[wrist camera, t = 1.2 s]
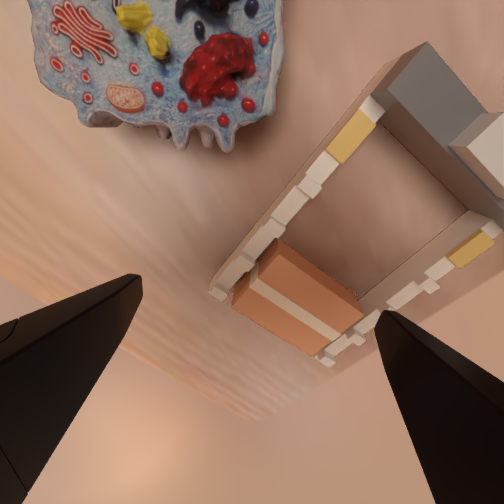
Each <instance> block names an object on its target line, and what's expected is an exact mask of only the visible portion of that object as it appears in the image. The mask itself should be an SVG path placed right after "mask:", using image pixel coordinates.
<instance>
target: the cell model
mask: <svg viewBox="0 0 504 504" xmlns="http://www.w3.org/2000/svg"><path fill="white" fill-rule="evenodd" d="M27 1H28V3H29V6H30V10H31V13H32V25H31V32H32V37H33V42H34V47H35V51H34V62H35V66H36V70H37V73H38V76H39V79H40V82H41V83H42V84H43V85H44V86H45V87H46V88H48V89H49V90H50V91H51V92H53V93H55V94H56V95H58V96H60V97H62V98H65V99H68V100H70V101H72V102H73V103H74V105H75V106H76V108H77V113H78V118H79V120H80V122H81V124H83V125H85V126H87V127H117V126H119V125H120V124H121V123H123V122H126V123H129V124H131V125H133V126H134V127H137V128H139V126H149V125H154V126H155V127H156V130H157V133H158V136H159V137H160V138H163V139H169V138H170V135H171V133H172V139H173V142H174V145H175V147H176V148H177V149H178V150H185V149H186V148H187V146H188V144H189V139H190V134H191V132H192V131H193V130H194V129H195V128H196V129H197V131H198V136H199V137H200V139H201V142H202V145H203V146H204V147H206V148H213V143H214V137H215V138H216V141H217V144H218V146H219V147H220V148H221V150H222V151H223V152H227V153H230V152H231V151H232V150H233V149H234V143H235V133H236V132H237V131H238V129H239V128H241V127H244V126H246V125H248V124H250V123H255V122H258V121H259V120H261V119H262V118H263V117H265V116H275V114H276V100H275V99H276V89H277V82H278V77H279V75H280V73H281V69H282V66H283V62H284V60H285V43H284V31H283V4H284V1H285V0H27Z"/></svg>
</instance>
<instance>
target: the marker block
mask: <svg viewBox="0 0 504 504" xmlns="http://www.w3.org/2000/svg"><path fill="white" fill-rule="evenodd" d="M231 307H232V308H233V309H235V310H236V311H238V312H240V313H241V314H243V315H245V316H246V317H248V318H249V319H251V320H253V321H254V322H256V323H258V324H259V325H261V326H262V327H264V328H266V329H267V330H269V331H271V332H272V333H274V334H275V335H277V336H279V337H280V338H282V339H284V340H285V341H287V342H288V343H290V344H292V345H293V346H295V347H297V348H298V349H300V350H301V351H303V352H305V353H306V354H308V355H310V356H313V355H314V354H315V353H317V352H318V351H319V350H320V349H322V348H323V347H324V346H326V345H327V344H328V343H329V342H331V341H332V342H333V341H334V340H335V339H337V338H338V337H339V336H340V335H342V334H341V333H342V332H344V331H345V330H346V329H347V328H349V327H350V326H351V325H353V324H354V323H355V322H356V321H358V320H359V319H360V318H362V317H363V316H364V313H363V311H362V310H361V308H360V306H359V304H358V302H357V300H356V298H355V296H354V294H353V293H352V292H350V291H349V290H348V289H346V288H345V287H344V286H342V285H341V284H339V283H338V282H337V281H335V280H334V279H333V278H331V277H330V276H329V275H327V274H326V273H324V272H323V271H322V270H320V269H319V268H318V267H316V266H315V265H313V264H312V263H311V262H309V261H308V260H307V259H305V258H304V257H303V256H301V255H300V254H298V253H297V252H296V251H294V250H293V249H292V248H290V247H289V246H288V245H286V244H285V243H283V242H282V241H281V240H279V239H277V240H276V241H275V242H274V243H273V244H272V246H271V247H270V248H269V249H268V250H267V251H266V252H265V253H264V255H263V256H262V257H261V258H260V259H259V260H258V261H257V262H256V263H255V265H254V266H253V267H252V269H251V270H250V271H249V272H248V273H247V274H246V275H245V276H244V277H243V278H242V280H241V281H240V282H239V283H238V284H237V285H236V286H235V290H234V295H233V300H232V305H231Z"/></svg>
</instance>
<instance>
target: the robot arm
mask: <svg viewBox="0 0 504 504" xmlns="http://www.w3.org/2000/svg"><path fill="white" fill-rule="evenodd" d="M142 297H143V289H142V278H141V276H140V275H137V274H126V275H124V276H121V277H119V278H116V279H114V280H111V281H109V282H106V283H104V284H101V285H99V286H96V287H94V288H91V289H89V290H86V291H84V292H81V293H79V294H76V295H74V296H71V297H69V298H66V299H64V300H61V301H59V302H56V303H54V304H51V305H49V306H46V307H44V308H42V309H39V310H37V311H34V312H32V313H29V314H27V315H24V316H22V317H20V318H19V319H14V320H12V321H9V322H7V323H4V324H2V325H0V504H22V502H23V501H24V499H25V498H26V496H27V495H28V493H27V492H29V491H30V489H31V488H32V486H33V484H34V483H35V481H36V479H37V478H38V476H39V475H40V473H41V471H42V470H43V468H44V467H45V465H46V463H47V462H48V460H49V458H50V457H51V455H52V453H53V452H54V450H55V448H56V447H57V445H58V444H59V442H60V440H61V439H62V437H63V435H64V434H65V432H66V431H67V429H68V427H69V426H70V424H71V422H72V421H73V419H74V417H75V416H76V414H77V413H78V411H79V409H80V408H81V406H82V404H83V403H84V401H85V400H86V398H87V396H88V395H89V393H90V392H91V390H92V388H93V387H94V385H95V383H96V382H97V380H98V379H99V377H100V375H101V374H102V372H103V370H104V369H105V367H106V365H107V364H108V362H109V361H110V359H111V357H112V356H113V354H114V352H115V351H116V349H117V348H118V346H119V344H120V343H121V341H122V339H123V338H124V336H125V334H126V332H127V330H128V328H129V326H130V324H131V321H132V319H133V317H134V315H135V313H136V311H137V309H138V306H139V304H140V302H141V300H142ZM374 331H375V336H376V339H377V343H378V347H379V351H380V354H381V358H382V362H383V365H384V369H385V372H386V374H387V377H388V380H389V383H390V385H391V388H392V390H393V393H394V396H395V398H396V401H397V404H398V406H399V409H400V411H401V414H402V417H403V419H404V422H405V425H406V427H407V430H408V432H409V435H410V437H411V440H412V443H413V445H414V448H415V451H416V453H417V456H418V458H419V461H420V463H421V466H422V469H423V472H424V474H425V477H426V479H427V482H428V484H429V487H430V490H431V492H432V495H433V498H434V500H435V503H436V504H504V382H502V381H501V380H499V379H498V378H496V377H495V376H493V375H492V374H490V373H489V372H487V371H486V370H484V369H483V368H481V367H480V366H478V365H477V364H475V363H474V362H472V361H470V360H469V359H467V358H466V357H464V356H463V355H461V354H460V353H458V352H457V351H455V350H454V349H452V348H451V347H449V346H448V345H446V344H445V343H443V342H442V341H440V340H439V339H437V338H436V337H434V336H433V335H431V334H430V333H428V332H426V331H425V330H423V329H422V328H421V327H419V326H418V325H416V324H415V323H413V322H411V321H410V320H408V319H407V318H405V317H404V316H402V315H401V314H399V313H398V312H396V311H392V310H383V311H382V312H381V314H380V316H379V319H378V321H377V323H376V325H375V329H374Z"/></svg>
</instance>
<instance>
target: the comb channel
mask: <svg viewBox="0 0 504 504" xmlns="http://www.w3.org/2000/svg"><path fill="white" fill-rule="evenodd" d="M377 120H378V121H379V122H380V123H381V124H382V125H383V126H384V127H385V128H386V129H387V130H388V131H389V132H390V133H391V134H392V135H393V136H394V137H395V138H396V139H398V140H399V141H400V142H401V143H402V144H403V145H404V146H405V147H406V148H407V149H408V150H409V151H410V152H411V153H412V154H413V155H414V156H415V157H416V158H417V159H418V160H419V161H420V162H421V163H422V164H423V165H424V166H425V167H426V168H427V169H428V170H429V171H430V172H431V173H432V174H433V175H434V176H435V177H436V178H437V179H438V180H439V181H440V182H441V183H442V184H443V185H444V186H445V187H446V188H447V189H448V190H449V191H450V192H451V193H452V194H453V195H454V196H455V197H456V198H457V199H458V200H459V201H460V202H461V203H462V204H463V205H464V206H465V207H466V208H467V209H468V211H467V212H465V213H464V214H463V215H462V216H460V217H459V218H458V219H457V220H456V221H454V222H453V223H452V224H451V225H449V226H448V227H447V228H446V229H445V230H443V231H442V232H441V233H440V234H438V235H437V236H436V237H435V238H434V239H432V240H431V241H430V242H429V243H427V244H426V245H425V246H424V247H423V248H421V249H420V250H419V251H418V252H416V253H415V254H414V255H413V256H412V257H410V258H409V259H408V260H407V261H405V262H404V263H403V264H402V265H401V266H399V267H398V268H397V269H396V270H394V271H393V272H392V273H391V274H390V275H388V276H387V277H386V278H385V279H383V280H382V281H381V282H380V283H379V284H377V285H376V286H375V287H374V288H372V289H371V290H370V291H369V292H368V293H366V294H365V295H364V296H363V297H361V298H360V299H359V300H358V301H357V302H358V304H359V306H360V308H361V310H362V311H363V313H364V316H363V317H362V318H360V319H359V320H358V321H356V322H355V323H354V324H353V325H351V326H350V327H349V328H347V329H346V330H345V331H344V332H342V333H341V334H342V335H340V336H339V337H338V338H337V339H335V340H334V341H333V342H332V341H331V342H329V343H328V344H327V345H326V346H324V347H323V348H322V349H320V350H319V351H318V352H317V353H315V354H314V358H316V359H317V360H318V361H319V362H321V363H322V364H324V365H326V366H327V367H329V368H330V367H331V366H332V365H334V364H335V363H336V360H335V357H334V356H335V355H337V354H338V353H339V352H341V351H342V350H344V349H345V348H346V347H348V346H349V345H350V344H352V343H354V344H356V345H357V346H360V345H361V344H363V343H364V342H366V339H365V336H364V334H365V333H366V332H368V331H369V330H371V329H372V328H373V327H375V325H376V323H377V321H378V319H379V316H380V314H381V312H382V311H383V310H392V311H396V312H398V311H397V310H398V309H399V308H400V307H402V306H403V305H404V304H406V303H407V302H408V301H410V300H411V299H412V298H414V297H415V296H417V295H418V294H419V293H421V292H422V291H423V290H425V291H426V292H428V293H429V294H430V295H431V294H432V293H433V292H435V291H436V290H438V289H439V288H440V286H439V285H438V284H437V283H436V282H435V281H437V280H438V279H439V278H441V277H442V276H444V275H445V274H446V273H448V272H449V271H450V270H452V269H453V268H454V267H456V266H457V267H458V268H459V269H460V268H462V267H463V266H465V265H466V264H467V263H469V262H470V261H471V260H473V259H474V258H476V257H477V256H478V255H480V254H481V253H482V252H484V251H485V250H486V249H488V248H489V247H491V246H492V245H493V244H495V243H496V242H495V241H494V240H493V239H494V238H495V237H496V236H498V235H499V234H500V233H502V232H503V231H504V112H498V113H488V112H487V111H486V110H485V109H484V108H483V106H482V105H481V104H480V103H479V102H478V100H477V99H476V98H475V97H474V96H473V95H472V93H471V92H470V91H469V90H468V89H467V87H466V86H465V85H464V84H463V83H462V82H461V80H460V79H459V78H458V77H457V76H456V75H455V73H454V72H453V71H452V70H451V69H450V67H449V66H448V65H447V64H446V63H445V62H444V60H443V59H442V58H441V57H440V56H439V54H438V53H437V52H436V51H435V50H434V49H433V47H432V46H431V45H430V44H429V43H428V42H425V43H423V44H421V45H420V46H418V47H416V48H414V49H412V50H410V51H409V52H407V53H405V54H403V55H401V56H400V57H398V58H396V59H394V60H392V61H390V62H389V63H387V64H385V65H384V66H383V67H382V69H381V70H380V71H379V72H378V74H377V75H376V76H375V77H374V78H373V80H372V81H371V82H370V83H369V85H368V86H367V87H366V88H365V90H364V91H363V92H362V93H361V95H360V96H359V97H358V98H357V100H356V101H355V102H354V103H353V104H352V106H351V107H350V108H349V109H348V111H347V112H346V113H345V114H344V116H343V117H342V118H341V119H340V121H339V122H338V123H337V124H336V125H335V127H334V128H333V129H332V130H331V132H330V133H329V134H328V135H327V137H326V138H325V139H324V140H323V142H322V143H321V144H320V145H319V146H318V148H317V149H316V150H315V151H314V153H313V154H312V155H311V156H310V158H309V159H308V160H307V161H306V163H305V164H304V165H303V166H302V168H301V169H300V170H299V171H298V172H297V174H296V175H295V176H294V177H293V179H292V180H291V181H290V182H289V184H288V185H287V186H286V187H285V189H284V190H283V191H282V192H281V193H280V195H279V196H278V197H277V198H276V200H275V201H274V202H273V203H272V205H271V206H270V207H269V208H268V210H267V211H266V212H265V213H264V215H263V216H262V217H261V218H260V219H259V221H258V222H257V223H256V224H255V226H254V227H253V228H252V229H251V231H250V232H249V233H248V234H247V236H246V237H245V238H244V239H243V240H242V242H241V243H240V244H239V245H238V247H237V248H236V249H235V250H234V252H233V253H232V254H231V255H230V257H229V258H228V259H227V260H226V261H225V263H224V264H223V265H222V266H221V268H220V269H219V270H218V271H217V273H216V274H215V275H214V276H213V278H212V280H211V283H210V286H209V289H208V291H207V292H208V294H210V295H212V296H213V297H215V298H216V299H218V300H220V301H221V302H222V301H223V300H224V299H225V298H226V297H227V296H228V294H229V290H230V289H231V287H232V286H233V285H234V284H235V283H236V282H237V281H238V279H239V278H240V277H241V276H242V275H243V274H244V273H245V271H246V272H249V271H250V270H251V269H252V267H253V266H254V265H255V260H256V259H257V258H258V257H259V255H260V254H261V253H262V252H263V251H264V250H265V249H266V247H267V246H268V245H269V244H270V243H271V242H272V241H273V239H274V238H275V237H276V238H277V239H278V238H279V237H280V236H281V235H282V233H283V232H284V231H285V230H286V227H285V226H286V225H287V223H288V222H289V221H290V220H291V219H292V218H293V216H294V215H295V214H296V213H297V212H298V211H299V210H300V208H301V207H302V206H303V205H304V204H305V203H306V202H307V200H308V199H309V198H310V197H311V198H312V199H313V198H314V197H315V196H316V195H317V194H318V193H319V192H320V190H321V189H322V187H321V184H322V183H323V182H324V181H325V180H326V179H327V178H328V176H329V175H330V174H331V173H332V172H333V171H334V170H335V168H336V167H337V166H338V165H339V164H340V163H341V164H343V163H344V162H345V161H346V159H347V158H348V157H349V156H350V155H351V154H352V153H353V151H354V150H355V149H356V148H357V147H358V146H359V145H360V144H361V142H362V141H363V140H364V139H365V138H366V137H367V136H368V134H369V133H370V132H371V131H372V130H373V129H374V128H375V126H376V124H375V123H376V122H377ZM398 313H399V312H398Z"/></svg>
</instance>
